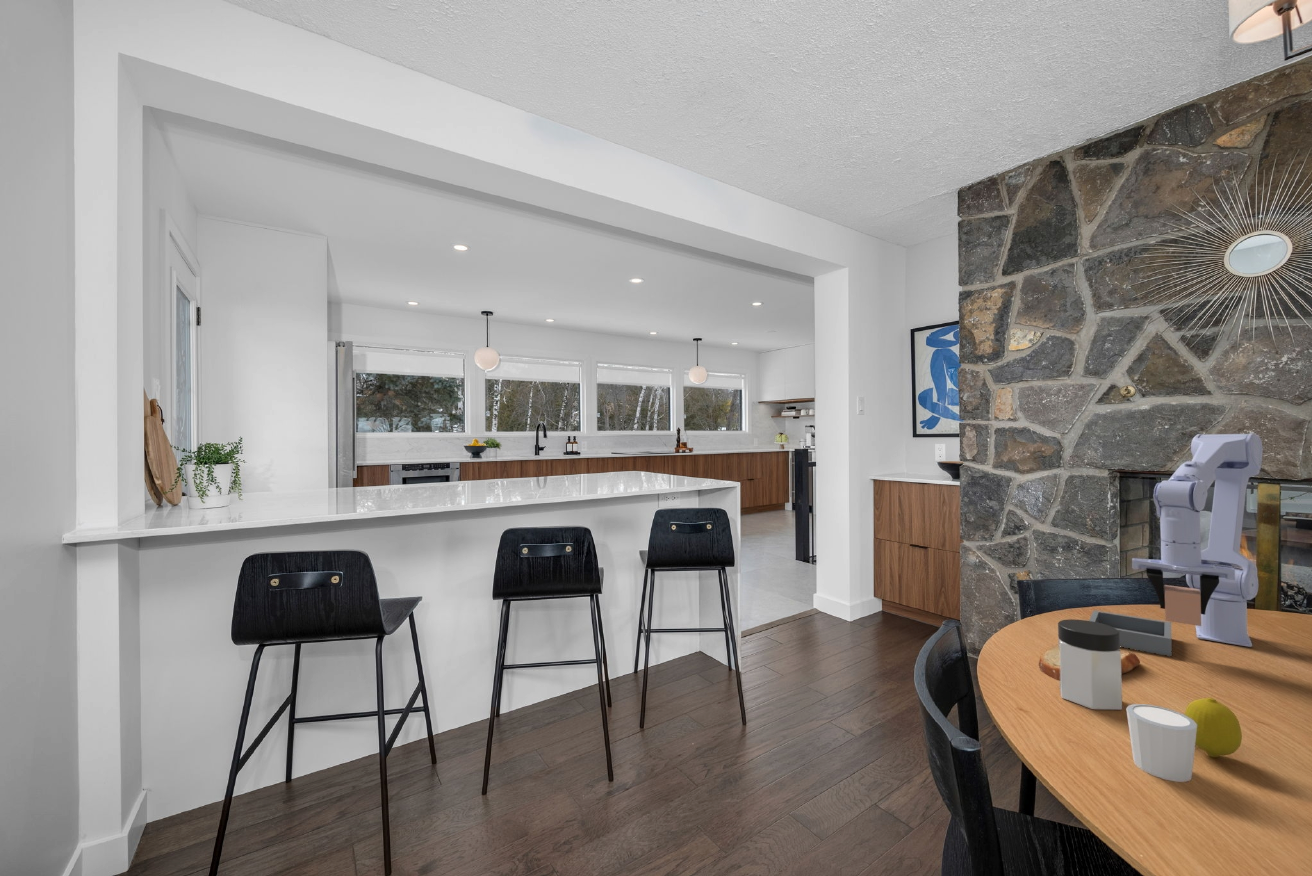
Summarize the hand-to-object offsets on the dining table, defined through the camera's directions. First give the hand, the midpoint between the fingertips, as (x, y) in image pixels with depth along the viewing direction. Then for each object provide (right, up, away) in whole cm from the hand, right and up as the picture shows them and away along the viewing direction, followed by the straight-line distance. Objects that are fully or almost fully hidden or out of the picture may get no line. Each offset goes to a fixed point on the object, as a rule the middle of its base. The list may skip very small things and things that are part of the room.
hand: (1182, 610), depth 108 cm
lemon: (-28, -10, -33) cm, 45 cm away
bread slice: (-22, -10, -4) cm, 24 cm away
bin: (-3, -9, +9) cm, 13 cm away
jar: (-32, -10, -17) cm, 37 cm away
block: (0, -2, 0) cm, 2 cm away
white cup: (-37, -10, -36) cm, 53 cm away
